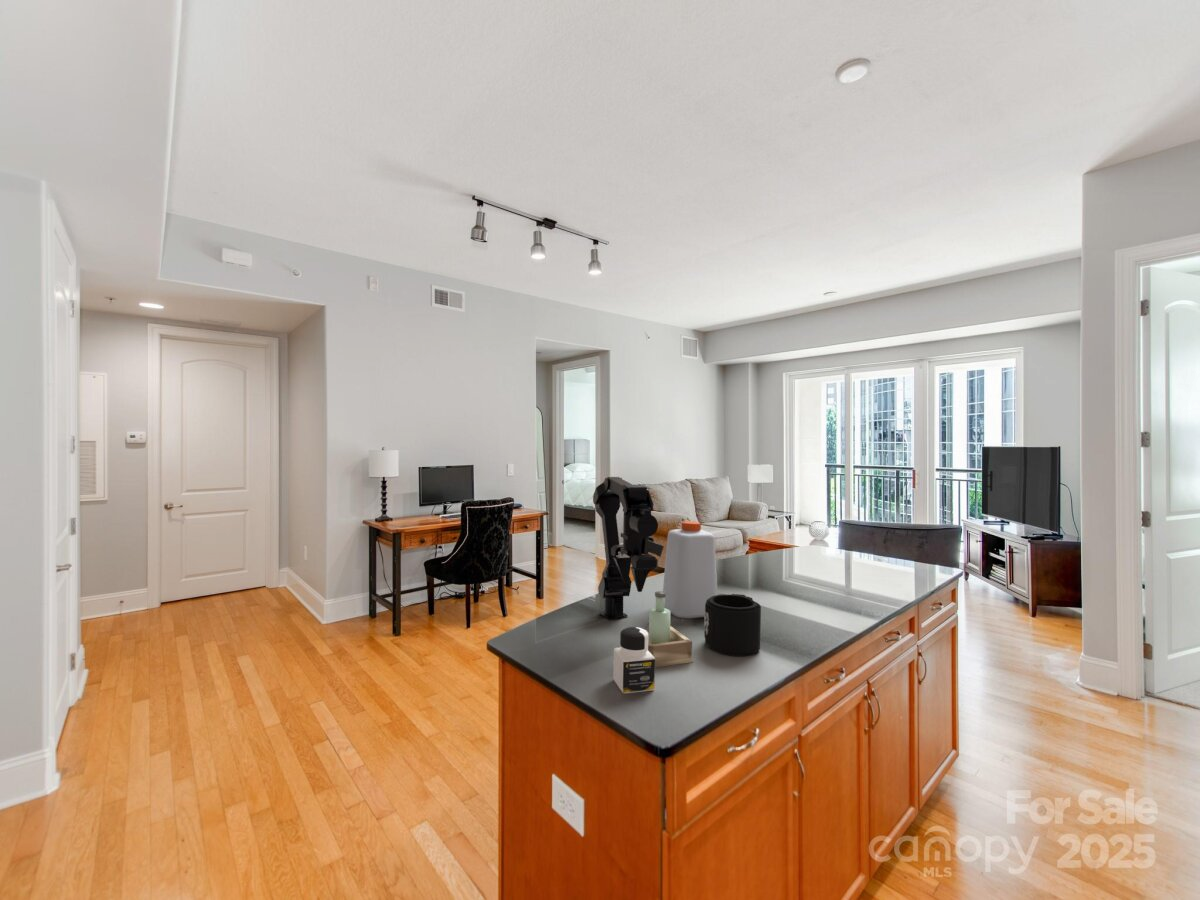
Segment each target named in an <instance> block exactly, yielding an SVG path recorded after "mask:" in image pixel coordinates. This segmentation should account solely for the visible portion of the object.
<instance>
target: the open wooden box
mask: <svg viewBox="0 0 1200 900" xmlns="http://www.w3.org/2000/svg"><path fill="white" fill-rule="evenodd" d="M648 651H649V652H650V653H651V654H652V655H653V656H654V657H655V668H660V667H666V666H672V665H673V666H675V665H681V664H688V663H693V662H694V658H693V654H692V653H693V641H692V640H691V639H690V638H688V637H687V636H685V635H684V634H683V633H681V632H680V631H678V630H677V629H676V628H674V627H673V626H672V625H670V642H667V643H659V644H650V643H649V641H648Z"/></svg>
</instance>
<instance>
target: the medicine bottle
mask: <svg viewBox="0 0 1200 900" xmlns="http://www.w3.org/2000/svg"><path fill="white" fill-rule="evenodd" d="M619 636H620V638H619V639H620V642H619V643H620V644H619V647H614V649H613V675H612V677H613V681H614V682H615V684H616V685H617V688H619V690H620V691H621V693H622V694H624V695H625V694H634V693H643V692H652V691H655V681H656V680H655V679H656V678H655V675H656V674H655V672H656V669H655V668H656V667H655V657H654V656H653V655H652V654H651V653H650V652H649V651H648V642H649V631H648V630H646V629H643V628H642V627H637V626H629V627H626V628H623V629H622V630H621V631H620V635H619Z"/></svg>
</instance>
